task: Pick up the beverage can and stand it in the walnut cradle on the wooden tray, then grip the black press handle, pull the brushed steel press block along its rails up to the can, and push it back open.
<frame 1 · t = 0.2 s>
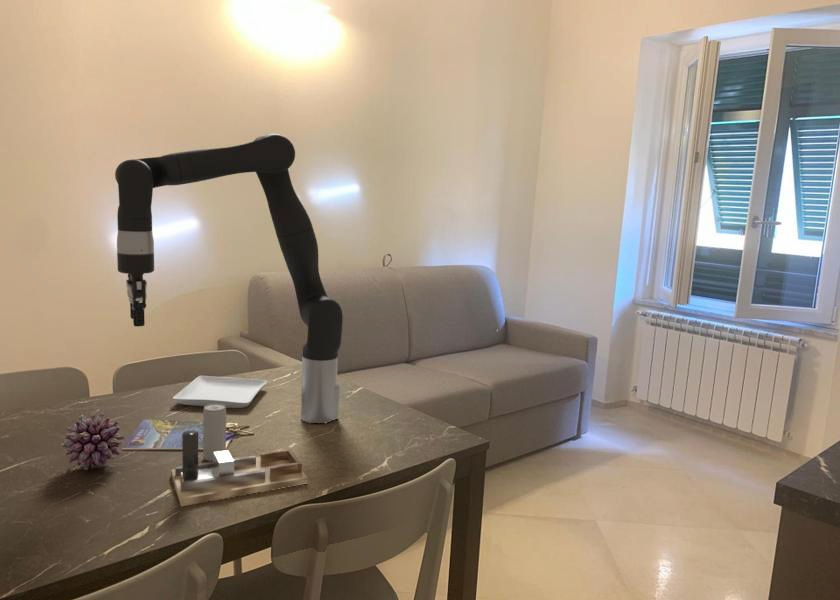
hand: (137, 322, 145), 29 cm above the table, tool pointing down, fingers open, 8 cm apart
beverage can: (214, 458, 143), on the table
flower: (94, 468, 135), on the table
wooden tray: (239, 480, 133), on the table
salad plate: (222, 399, 184), on the table
press block: (207, 454, 129), point 7 cm above the table, slide at 0.0 cm
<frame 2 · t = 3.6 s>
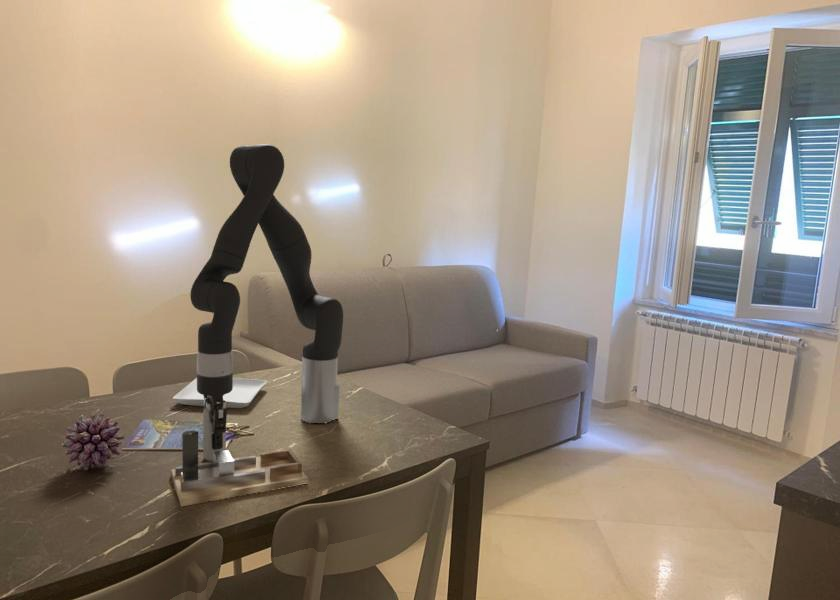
hand: (214, 443, 143), 3 cm above the table, tool pointing down, fingers closed on beverage can, 4 cm apart
beverage can: (214, 458, 143), on the table, touching gripper
everything else where it was.
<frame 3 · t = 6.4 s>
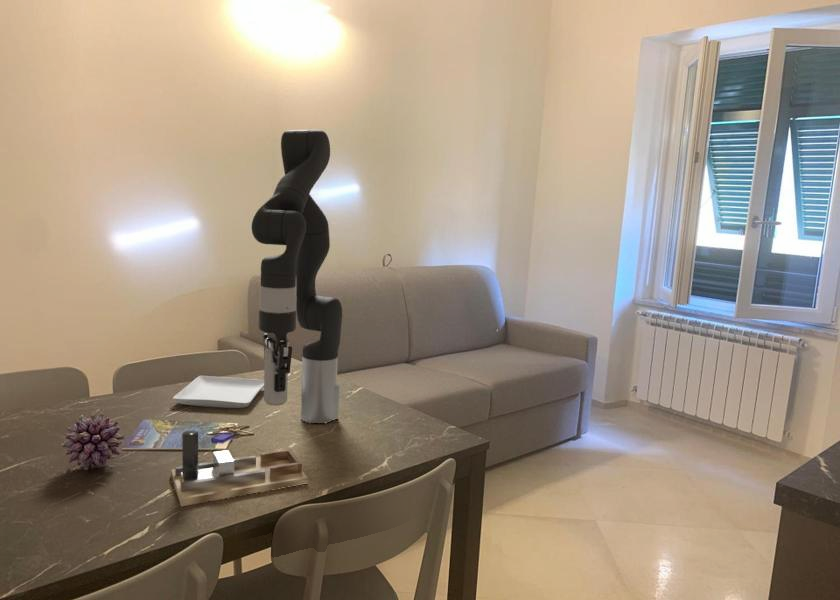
hand: (276, 387, 134), 19 cm above the table, tool pointing down, fingers closed on beverage can, 4 cm apart
beverage can: (275, 403, 135), point 16 cm above the table, touching gripper
everything else where it was.
when the fingers open (6 cm above the table, at t = 9.5 s): beverage can stays where it is, resting on wooden tray.
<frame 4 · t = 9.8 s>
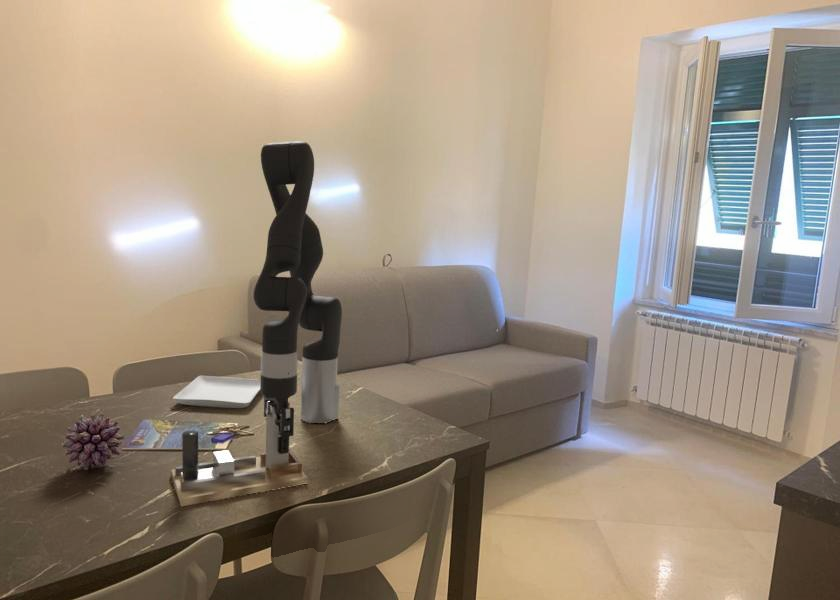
hand: (277, 445, 136), 6 cm above the table, tool pointing down, fingers open, 7 cm apart
beverage can: (276, 468, 137), point 1 cm above the table, touching wooden tray
everything else where it was.
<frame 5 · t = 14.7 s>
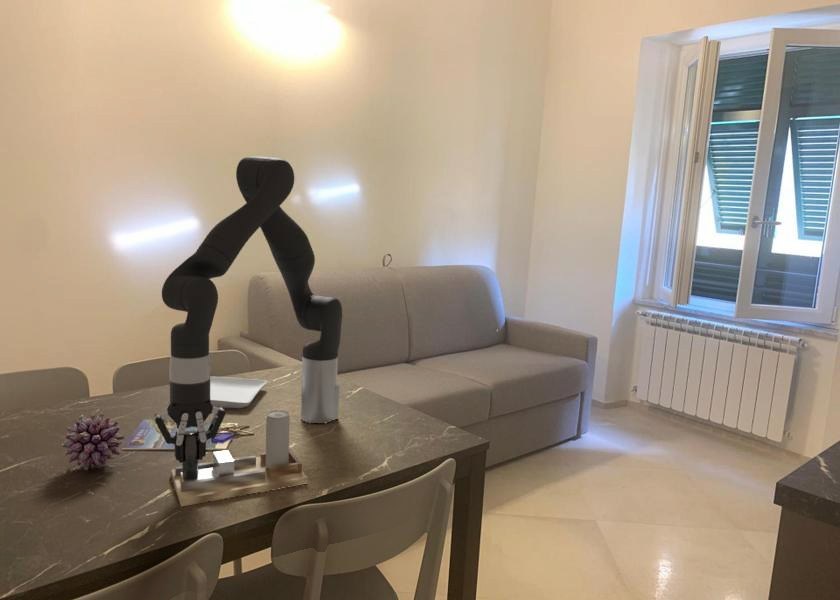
hand: (190, 459, 128), 6 cm above the table, tool pointing down, fingers closed on press block, 3 cm apart
press block: (207, 454, 129), point 7 cm above the table, slide at 0.0 cm, touching gripper
everything else where it was.
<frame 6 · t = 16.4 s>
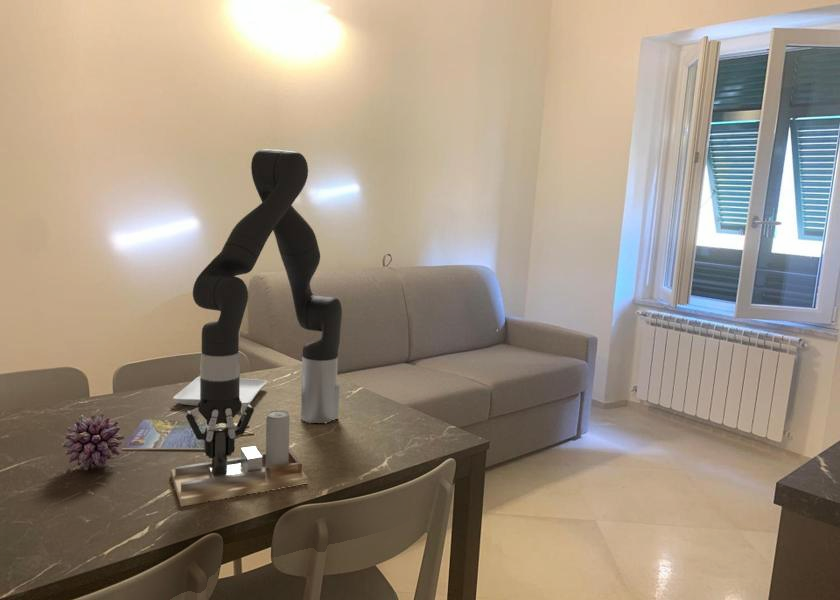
hand: (219, 455, 130), 6 cm above the table, tool pointing down, fingers closed on press block, 3 cm apart
press block: (235, 450, 132), point 7 cm above the table, slide at 5.7 cm, touching gripper
everything else where it was.
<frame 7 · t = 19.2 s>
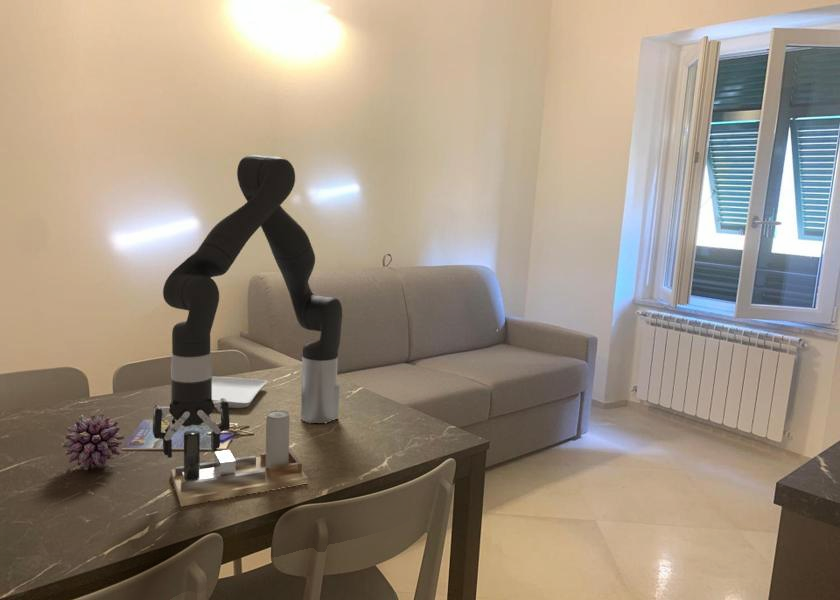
hand: (192, 453, 128), 7 cm above the table, tool pointing down, fingers open, 8 cm apart
press block: (208, 454, 129), point 7 cm above the table, slide at 0.3 cm
everything else where it was.
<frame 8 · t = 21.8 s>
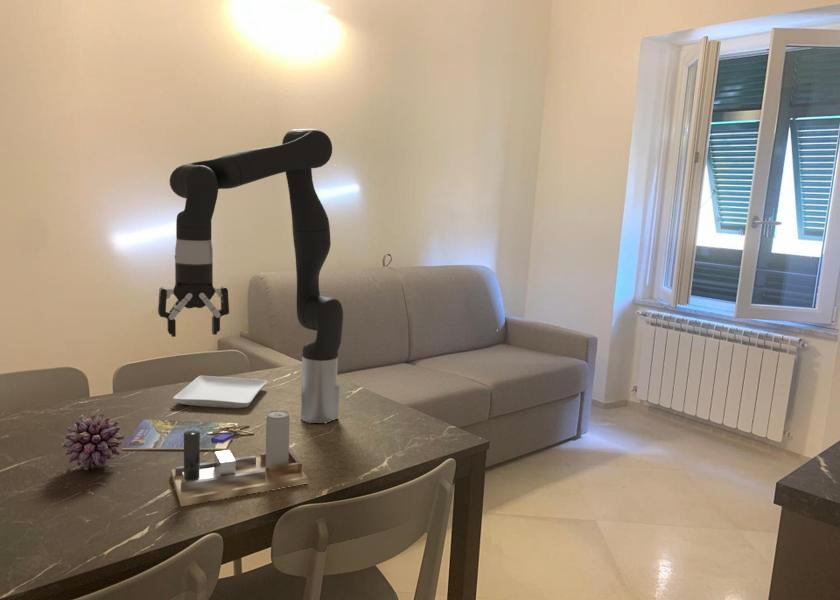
hand: (194, 334, 139), 28 cm above the table, tool pointing down, fingers open, 8 cm apart
nothing on the table moved.
at the end: beverage can 0.1 cm from the target spot on the wooden tray, point 1.3 cm above the wooden tray's base; beverage can tilted 0°; press block slide at 0.3 cm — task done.
